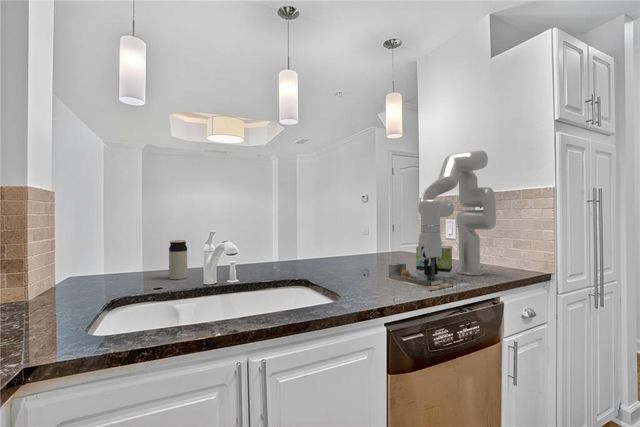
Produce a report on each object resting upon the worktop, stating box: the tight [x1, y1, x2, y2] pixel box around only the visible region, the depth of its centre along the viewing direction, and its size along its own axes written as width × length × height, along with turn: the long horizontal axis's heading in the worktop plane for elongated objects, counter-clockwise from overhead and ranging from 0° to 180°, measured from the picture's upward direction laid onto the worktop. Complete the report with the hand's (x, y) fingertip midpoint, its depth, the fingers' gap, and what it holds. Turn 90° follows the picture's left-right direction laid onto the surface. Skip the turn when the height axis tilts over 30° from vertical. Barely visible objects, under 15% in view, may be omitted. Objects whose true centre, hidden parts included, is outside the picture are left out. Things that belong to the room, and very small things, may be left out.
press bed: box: [383, 262, 454, 293], centre depth 137 cm, size 14×26×7 cm, turn 34°
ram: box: [409, 258, 444, 286], centre depth 133 cm, size 7×12×12 cm, turn 34°
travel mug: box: [168, 239, 188, 280], centre depth 153 cm, size 8×8×18 cm
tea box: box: [415, 245, 453, 278], centre depth 152 cm, size 15×10×15 cm
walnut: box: [401, 269, 411, 278], centre depth 142 cm, size 4×4×4 cm
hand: (430, 274), depth 131 cm, fingers closed on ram, 3 cm apart
